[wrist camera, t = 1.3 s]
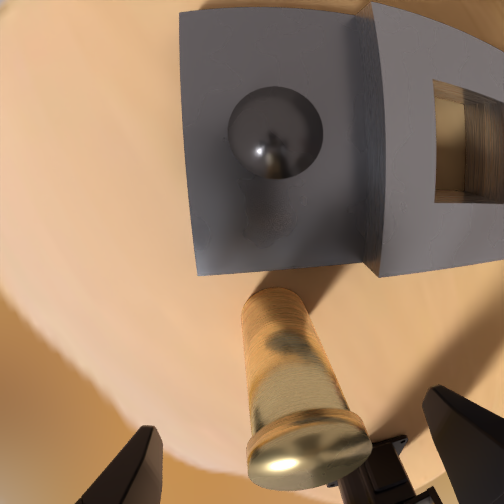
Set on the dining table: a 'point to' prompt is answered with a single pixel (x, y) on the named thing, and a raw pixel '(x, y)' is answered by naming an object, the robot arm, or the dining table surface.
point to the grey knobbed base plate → (336, 140)
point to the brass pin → (295, 400)
